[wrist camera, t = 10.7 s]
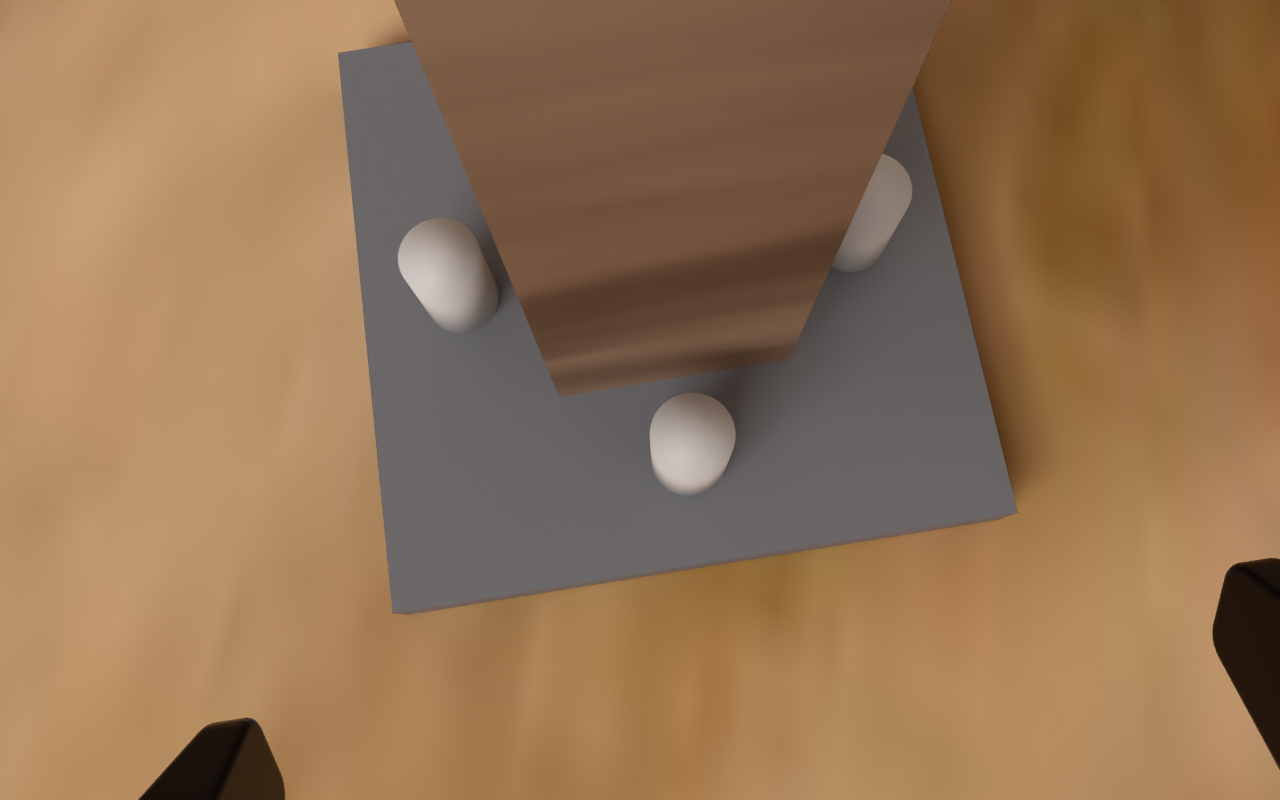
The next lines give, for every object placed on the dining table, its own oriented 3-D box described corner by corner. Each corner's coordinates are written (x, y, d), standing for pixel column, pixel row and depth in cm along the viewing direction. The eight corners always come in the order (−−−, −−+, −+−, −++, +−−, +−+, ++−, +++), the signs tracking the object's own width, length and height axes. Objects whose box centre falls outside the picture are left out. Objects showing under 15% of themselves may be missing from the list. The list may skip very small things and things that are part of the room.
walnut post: (788, 359, 22) (1006, -118, 8) (559, 396, 22) (384, -22, 8) (745, 149, 23) (870, -577, 9) (527, 184, 23) (329, -496, 9)
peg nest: (998, 519, 22) (1064, 495, 18) (406, 614, 22) (356, 608, 18) (873, 1, 25) (909, -106, 21) (353, 81, 25) (301, -15, 21)
